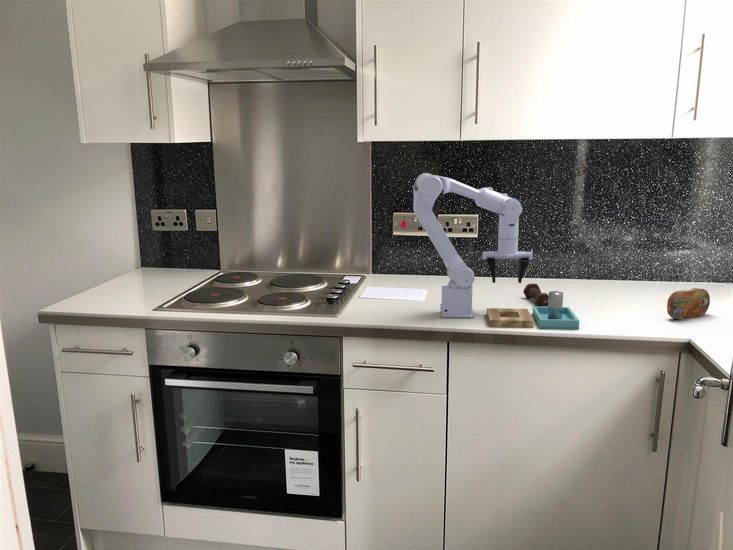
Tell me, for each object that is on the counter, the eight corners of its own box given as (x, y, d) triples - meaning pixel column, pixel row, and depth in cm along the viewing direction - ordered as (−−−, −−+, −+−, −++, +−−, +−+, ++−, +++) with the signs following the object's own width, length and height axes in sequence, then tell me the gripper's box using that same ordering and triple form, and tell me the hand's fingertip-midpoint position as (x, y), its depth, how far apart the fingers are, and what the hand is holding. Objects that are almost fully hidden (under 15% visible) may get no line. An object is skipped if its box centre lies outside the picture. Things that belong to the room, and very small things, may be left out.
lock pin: (548, 321, 178) (550, 294, 176) (546, 317, 182) (547, 291, 180) (563, 321, 178) (564, 294, 176) (560, 317, 182) (561, 291, 180)
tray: (539, 328, 174) (540, 320, 174) (532, 314, 187) (532, 306, 187) (578, 329, 173) (579, 320, 172) (568, 315, 186) (569, 306, 186)
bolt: (544, 316, 192) (528, 301, 206) (559, 308, 192) (541, 294, 206) (536, 301, 190) (520, 287, 205) (551, 292, 190) (534, 279, 205)
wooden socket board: (489, 326, 176) (490, 320, 176) (486, 314, 188) (486, 308, 188) (533, 327, 175) (533, 320, 175) (527, 315, 187) (527, 308, 186)
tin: (672, 322, 178) (675, 293, 176) (663, 319, 181) (666, 291, 179) (709, 315, 184) (712, 287, 182) (700, 312, 187) (703, 285, 185)
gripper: (484, 240, 182) (483, 285, 185) (535, 240, 180) (533, 285, 184) (482, 236, 189) (481, 279, 192) (531, 236, 187) (529, 280, 190)
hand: (506, 282), depth 188 cm, fingers open, 7 cm apart
